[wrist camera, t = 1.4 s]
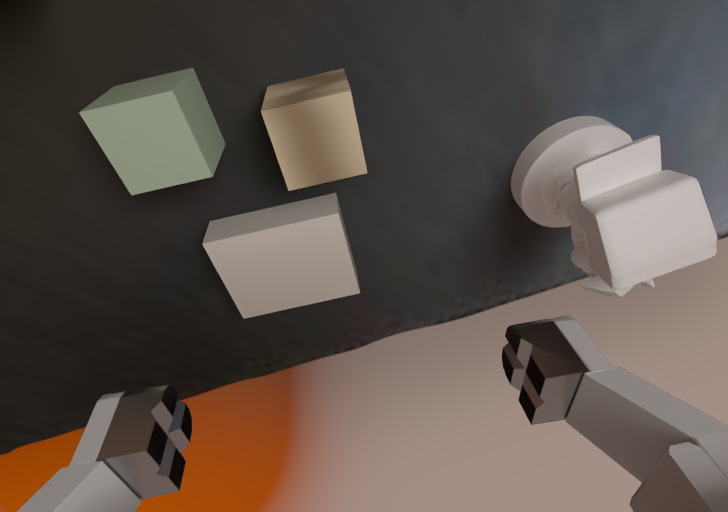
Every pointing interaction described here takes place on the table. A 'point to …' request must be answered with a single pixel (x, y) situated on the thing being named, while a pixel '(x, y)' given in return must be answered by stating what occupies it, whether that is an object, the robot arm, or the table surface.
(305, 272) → the tile slab
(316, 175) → the maple cube
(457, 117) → the table surface
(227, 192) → the table surface
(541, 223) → the character figurine
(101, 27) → the table surface
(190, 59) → the table surface
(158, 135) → the sage cube
